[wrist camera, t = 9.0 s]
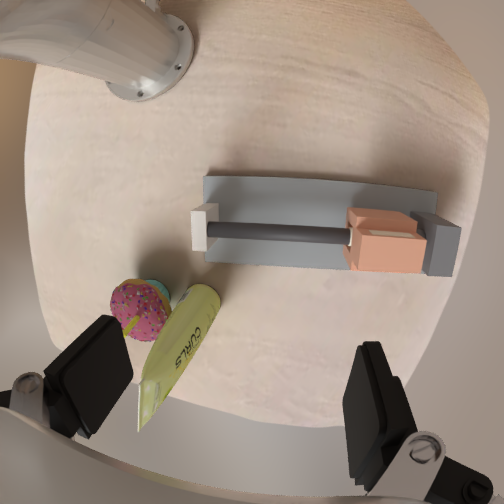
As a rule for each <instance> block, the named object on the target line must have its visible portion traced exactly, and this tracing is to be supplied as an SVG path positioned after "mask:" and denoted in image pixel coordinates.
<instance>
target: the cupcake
mask: <svg viewBox="0 0 504 504" xmlns="http://www.w3.org/2000/svg"><path fill="white" fill-rule="evenodd" d="M169 302H170V297H169V293H168V291H167V289H166V288H165V286H164V285H163V284H161V283H160V282H158V281H156V280H151V279H150V280H145V281H144V280H142V279H128V280H125V281H124V282H123V283H121V284H120V285H119V286H117V287H116V288H115V290H114V291H113V294H112V297H111V301H110V307H111V311H112V314H113V316H114V317H116V318H117V319H118V321H119V322H120V323H121V326H122V330H123V335H124V338H125V337H126V336H127V335H128V336H131V337H132V338H134V339H137V340H140V341H144V342H146V341H149V342H151V341H153V340H156V339H157V337H158V335H159V333H160V331H161V329H162V328H163V326H164V324H165V323H166V321H167V319H168V318H169V316H170V315H171V313H172V310H171V307H170V305H169Z"/></svg>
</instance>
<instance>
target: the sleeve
mask: <svg viewBox="0 0 504 504" xmlns="http://www.w3.org/2000/svg"><path fill="white" fill-rule="evenodd" d="M417 223H418V222H417V221H415V220H413V219H412V218H410V217H408V216H406V215H405V214H403V213H401V212H398V211H388V210H377V209H366V208H354V207H347V213H346V225H345V228H349V227H351V228H353V233H352V242H351V246H348V245H343V255H344V257H345V259H346V261H347V263H348V266H349V268H350V270H352V271H372V272H393V273H421V269H422V264H423V259H424V254H425V248H426V243H427V240H426V239H425V238H423V237H422V236H420V235H419V234H417V233H416V230H417Z"/></svg>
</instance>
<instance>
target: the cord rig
mask: <svg viewBox="0 0 504 504" xmlns="http://www.w3.org/2000/svg"><path fill="white" fill-rule="evenodd" d="M203 196H204V204H203V205H201V206H199V207H197V208H195V209H194V210H192V211H191V230H192V251H205V262H219V263H234V264H250V265H266V266H283V267H300V268H317V269H336V270H350V268H349V266H348V263H347V261H346V259H345V257H344V255H343V245H348V246H351V242H352V233H353V228H351V227H349V228H345V225H346V213H347V207H354V208H366V209H377V210H388V211H398V212H401V213H403V214H405V215H406V216H408V217H410V218H412V219H413V220H415V221H417V222H418V223H417V230H416V233H417V234H419V235H420V236H422V237H423V238H425V239H426V240H427V243H426V248H425V254H424V259H423V264H422V269H421V273H419V274H426V275H427V276H443V277H452V273H453V269H454V265H455V260H456V255H457V250H458V245H459V240H460V234H461V227H459V226H457V225H455V224H453V223H451V222H449V221H447V220H445V219H443V218H441V217H439V216H437V215H435V214H436V206H437V197H438V193H437V192H434V191H427V190H420V189H413V188H405V187H397V186H389V185H380V184H371V183H361V182H350V181H338V180H325V179H310V178H291V177H266V176H203Z"/></svg>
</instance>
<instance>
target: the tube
mask: <svg viewBox="0 0 504 504" xmlns="http://www.w3.org/2000/svg"><path fill="white" fill-rule="evenodd" d="M220 304H221V303H220V298H219V296H218V294H217V292H216V291H215V290H214V289H212V288H211V287H209V286H207V285H204V284H196V285H193V286H191V287H190V288H188V289H187V291H186V292H185V294H184V295H183V296H182V298H181V299H180V301H179V302H178V304H177V305H176V307H175V308H174V310H173V311H172V313H171V315H170V316H169V318H168V319H167V321H166V323H165V324H164V326H163V328H162V329H161V331H160V333H159V335H158V337H157V339H156V340H155V342H154V344H153V346H152V348H151V351H150V353H149V355H148V357H147V359H146V362H145V365H144V367H143V370H142V375H141V382H140V383H139V407H138V432H139V431H140V429H141V427H143V425H145V424H146V423H147V421H148V420H149V419H150V418H151V417H152V416H153V414H154V413H155V412H156V411H157V409H158V408H159V406H160V405H161V404H162V402H163V401H164V399H165V398H166V396H167V395H168V394H169V392H170V391H171V389H172V388H173V386H174V385H175V384H176V382H177V381H178V379H179V378H180V376H181V375H182V373H183V372H184V370H185V368H186V367H187V365H188V364H189V362H190V361H191V359H192V358H193V356H194V354H195V353H196V351H197V349H198V348H199V346H200V344H201V343H202V341H203V339H204V337H205V336H206V334H207V332H208V330H209V328H210V327H211V325H212V323H213V321H214V319H215V317H216V315H217V313H218V311H219V309H220Z"/></svg>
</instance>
